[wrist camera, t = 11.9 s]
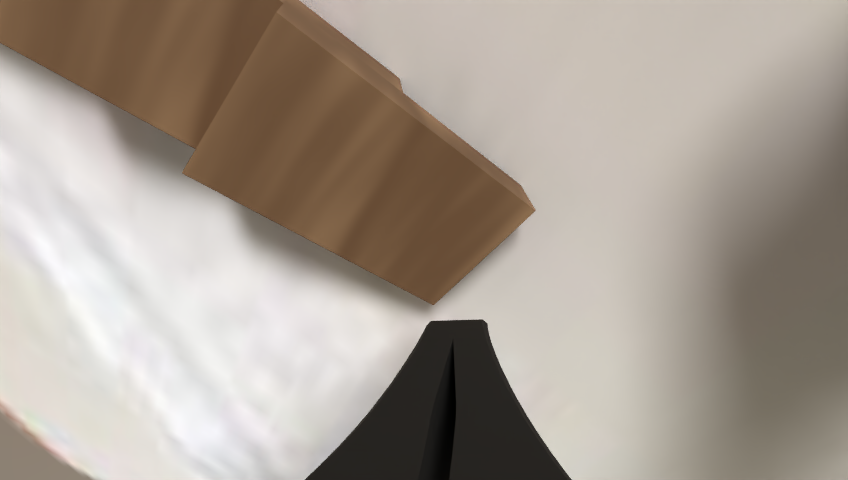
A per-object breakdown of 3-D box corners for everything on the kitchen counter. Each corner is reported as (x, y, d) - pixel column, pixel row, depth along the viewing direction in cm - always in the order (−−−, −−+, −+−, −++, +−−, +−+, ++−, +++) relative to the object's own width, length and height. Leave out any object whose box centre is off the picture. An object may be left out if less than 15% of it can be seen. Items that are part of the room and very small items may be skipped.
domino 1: (403, 94, 13) (49, -175, 9) (313, 213, 15) (-10, 37, 11) (399, 78, 14) (87, -164, 10) (317, 189, 16) (29, 24, 12)
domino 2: (535, 210, 14) (276, 12, 10) (433, 305, 16) (181, 173, 12) (520, 185, 15) (285, 0, 11) (427, 276, 17) (198, 147, 13)
